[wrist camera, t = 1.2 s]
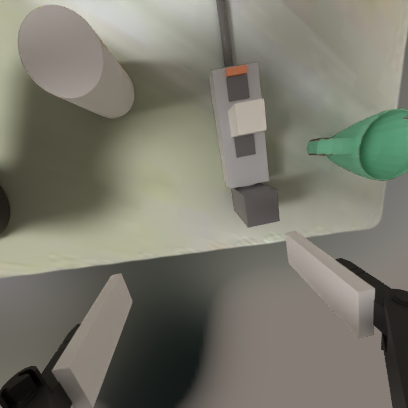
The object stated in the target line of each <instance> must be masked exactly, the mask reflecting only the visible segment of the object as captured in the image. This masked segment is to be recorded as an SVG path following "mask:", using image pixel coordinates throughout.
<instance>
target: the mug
mask: <svg viewBox="0 0 408 408" xmlns="http://www.w3.org/2000/svg"><path fill="white" fill-rule="evenodd" d="M406 116H408V110H406V109H401V108H398V109H393V110H388V111H383V112H381V113H378V114H376V115H373V116H371V117H369V118H366V119H364V120H362V121H360V122H358V123H356V124H354V125H352V126H350V127H348V128H347V129H345V130H343V131H341V132H340V133H338V134H337V135H335V136H334V137H333V138H319V139H314V140H310V142H309V143H308V146H307V152H308V154H309V155H327V157H328V158H329V159H330V160H331V161H333V162H334V163H335V164H337V165H339V166H341V167H343V168H344V169H346V170H348V171H350V172H353V173H355V174H357V175H360V176H363V177H366V178H368V179H374V180H381V181H385V180H390V179H394V178H396V177H398V176H400V175H402V174H403V173H404V172H406V171H407V170H408V118H404V117H406Z"/></svg>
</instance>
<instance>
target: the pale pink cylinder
mask: <svg viewBox="0 0 408 408" xmlns="http://www.w3.org/2000/svg"><path fill="white" fill-rule="evenodd" d="M18 50H19V54H20V58H21V61H22V63H23V66H24V68H25V69H26V71H27V73H28V74H29V76H30V77H31V78H32V79H33V80H34V82H35V83H36V84H38V85H39V86H40V87H41V88H42V89H44V90H45V91H47V92H49V93H51V94H53V95H55V96H57V97H60V98H62V99H64V100H66V101H69V102H71V103H73V104H76V105H78V106H80V107H82V108H85V109H87V110H89V111H91V112H94V113H96V114H98V115H101V116H103V117H106V118H118V117H121V116H123V115H125V114H126V113H127V112H128V111H129V110H130V109H131V107H132V105H133V102H134V96H135V93H134V87H133V83H132V81H131V79H130V77H129V76H128V75H127V73H126V72H125V71H124V69H123V68H122V67H121V65H120V64H119V63H118V61H117V60H116V59H115V58H114V56H113V55H112V54H111V52H110V51H109V50H108V48H107V47H106V46H105V44H104V43H103V42H102V40H101V39H100V38H99V37H98V35H97V34H96V33H95V31H94V30H93V29H92V27H91V26H90V25H89V24H88V23H87V21H86V20H85V19H83V18H82V17H81V16H80V15H79V14H77V13H76V12H74V11H72V10H70V9H68V8H66V7H62V6H58V5H45V6H41V7H38V8H36V9H34V10H33V11H31V12H30V13H29V14H28V15H27V16H26V17H25V19H24V20H23V22H22V24H21V26H20V29H19V34H18Z"/></svg>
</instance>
